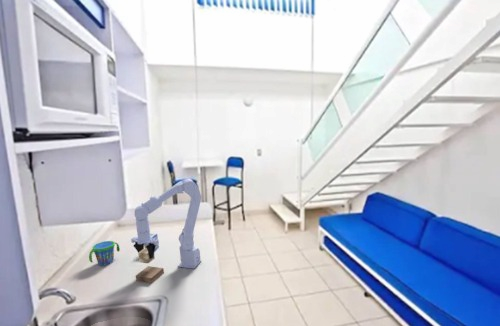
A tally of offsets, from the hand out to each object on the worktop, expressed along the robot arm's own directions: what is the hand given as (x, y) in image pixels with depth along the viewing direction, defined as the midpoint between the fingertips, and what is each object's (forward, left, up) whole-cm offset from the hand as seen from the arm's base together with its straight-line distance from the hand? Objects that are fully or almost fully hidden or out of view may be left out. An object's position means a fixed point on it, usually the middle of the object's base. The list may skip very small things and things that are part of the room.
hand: (146, 257), depth 140 cm
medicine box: (+15, -22, -9) cm, 28 cm away
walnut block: (-3, +3, -9) cm, 10 cm away
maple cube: (0, 0, -2) cm, 2 cm away
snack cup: (+31, -4, -9) cm, 33 cm away
